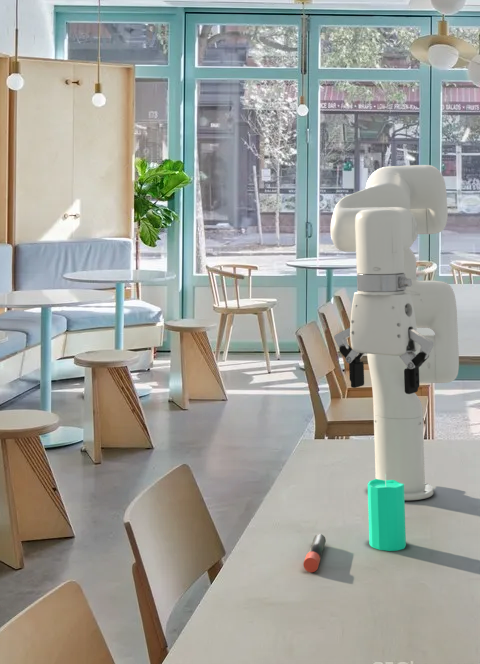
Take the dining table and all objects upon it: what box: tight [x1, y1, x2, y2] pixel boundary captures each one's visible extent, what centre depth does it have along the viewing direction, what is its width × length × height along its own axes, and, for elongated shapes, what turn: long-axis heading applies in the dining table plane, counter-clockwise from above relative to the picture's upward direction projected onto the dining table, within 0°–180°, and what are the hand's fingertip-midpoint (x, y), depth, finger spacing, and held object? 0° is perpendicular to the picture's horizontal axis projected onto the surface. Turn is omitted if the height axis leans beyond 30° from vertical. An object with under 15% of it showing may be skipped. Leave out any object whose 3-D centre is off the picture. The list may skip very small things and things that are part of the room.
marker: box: [302, 533, 327, 573], centre depth 168 cm, size 14×2×2 cm, turn 162°
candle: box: [367, 474, 407, 552], centre depth 174 cm, size 6×6×12 cm
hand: (384, 389), depth 167 cm, fingers open, 9 cm apart
